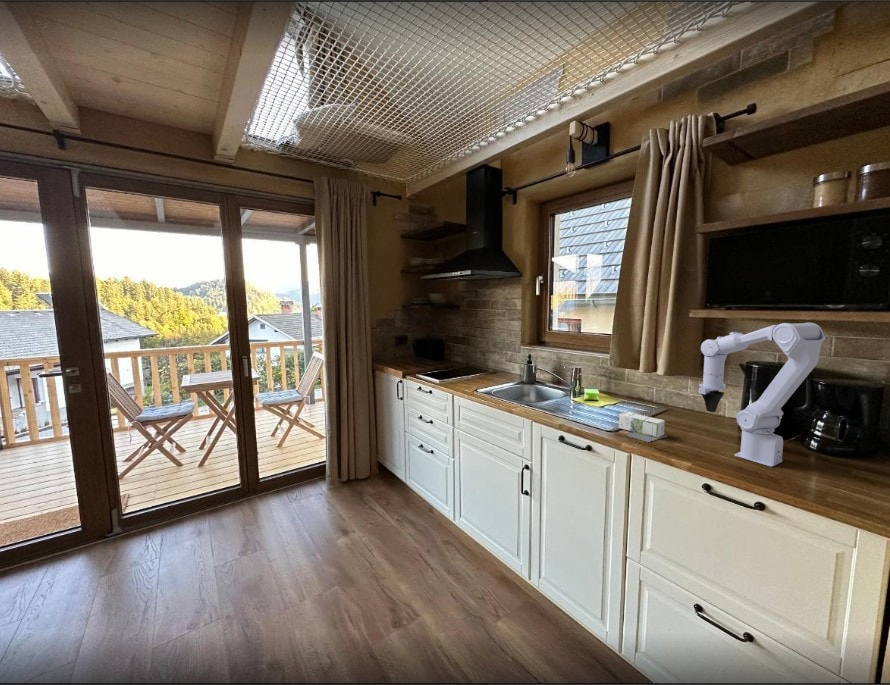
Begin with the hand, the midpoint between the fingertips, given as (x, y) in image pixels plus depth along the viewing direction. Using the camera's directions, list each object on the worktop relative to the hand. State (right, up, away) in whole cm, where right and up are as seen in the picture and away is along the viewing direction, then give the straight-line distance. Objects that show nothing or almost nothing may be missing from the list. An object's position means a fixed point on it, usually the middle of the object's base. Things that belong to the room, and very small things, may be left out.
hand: (711, 411), depth 127 cm
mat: (-20, -10, +6) cm, 23 cm away
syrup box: (-16, -7, +3) cm, 17 cm away
